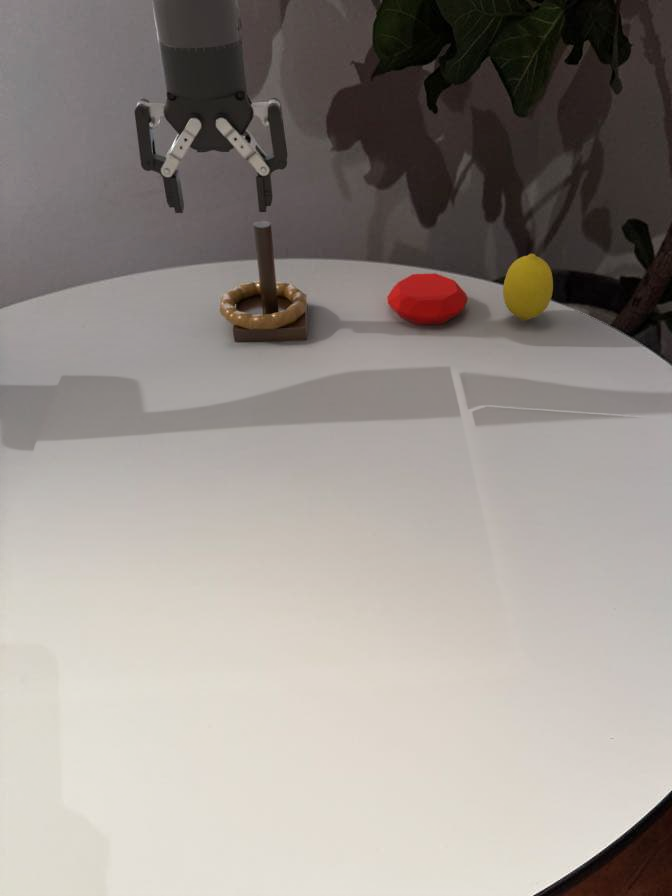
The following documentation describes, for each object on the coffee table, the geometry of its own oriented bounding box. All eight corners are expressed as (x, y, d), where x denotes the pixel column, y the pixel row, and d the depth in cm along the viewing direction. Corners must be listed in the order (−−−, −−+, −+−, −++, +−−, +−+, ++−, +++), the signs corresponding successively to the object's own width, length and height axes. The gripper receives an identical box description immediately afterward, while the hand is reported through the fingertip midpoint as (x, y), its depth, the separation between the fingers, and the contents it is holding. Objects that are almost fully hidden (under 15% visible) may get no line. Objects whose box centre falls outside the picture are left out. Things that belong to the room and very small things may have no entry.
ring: (218, 333, 95) (216, 320, 93) (223, 292, 102) (221, 279, 100) (307, 330, 95) (306, 317, 94) (306, 289, 102) (305, 276, 101)
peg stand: (234, 341, 96) (221, 241, 88) (238, 307, 102) (226, 209, 94) (307, 339, 97) (300, 239, 89) (307, 305, 103) (300, 208, 95)
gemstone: (412, 336, 98) (412, 312, 96) (375, 302, 103) (375, 278, 101) (479, 318, 101) (481, 294, 99) (440, 286, 107) (441, 263, 105)
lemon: (547, 310, 103) (556, 245, 97) (548, 334, 99) (558, 267, 93) (500, 307, 103) (507, 242, 98) (499, 330, 99) (506, 264, 93)
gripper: (112, 44, 76) (147, 226, 87) (276, 43, 77) (290, 223, 88) (125, 23, 82) (156, 197, 93) (278, 23, 83) (291, 195, 94)
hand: (221, 209), depth 90 cm, fingers open, 8 cm apart
